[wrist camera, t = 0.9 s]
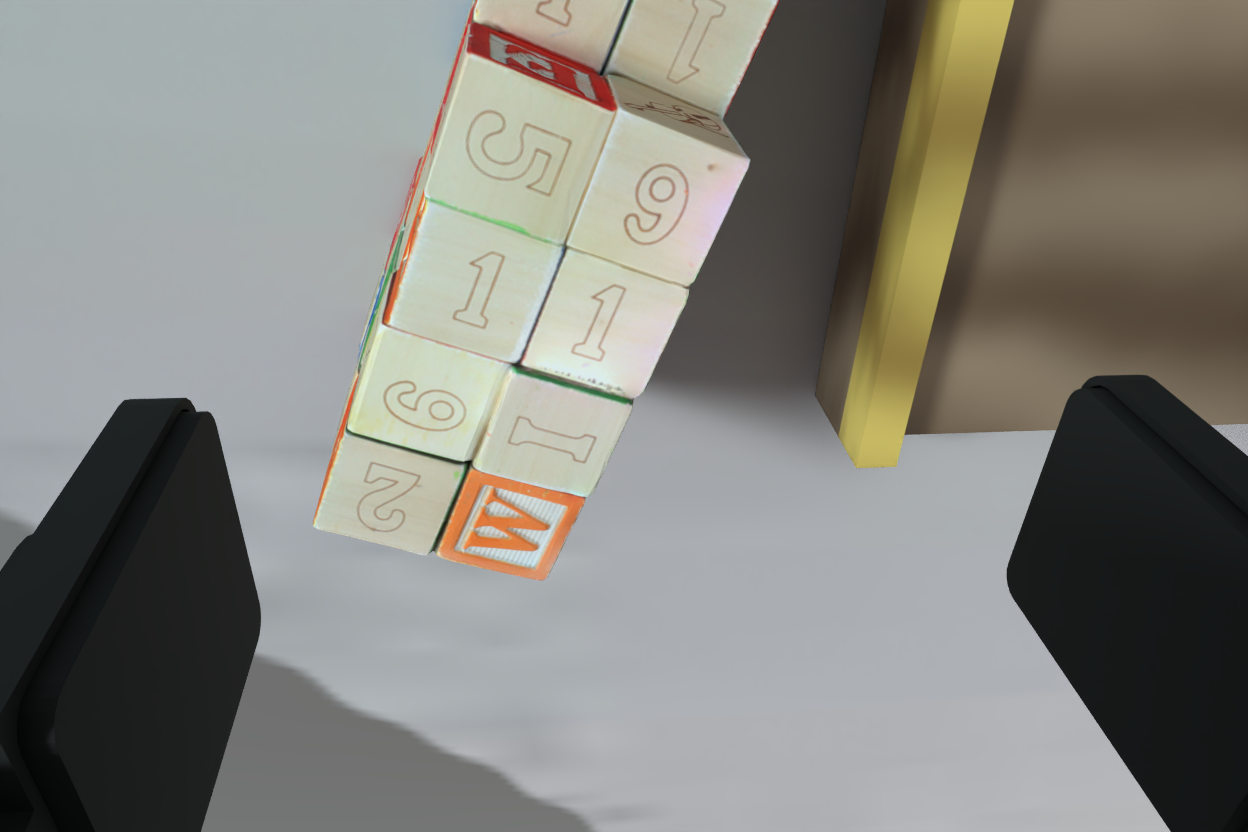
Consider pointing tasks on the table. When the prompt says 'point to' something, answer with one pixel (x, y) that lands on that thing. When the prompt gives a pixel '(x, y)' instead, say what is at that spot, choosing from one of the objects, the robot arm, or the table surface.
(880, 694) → the table surface
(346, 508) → the stack of blocks
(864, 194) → the dock
